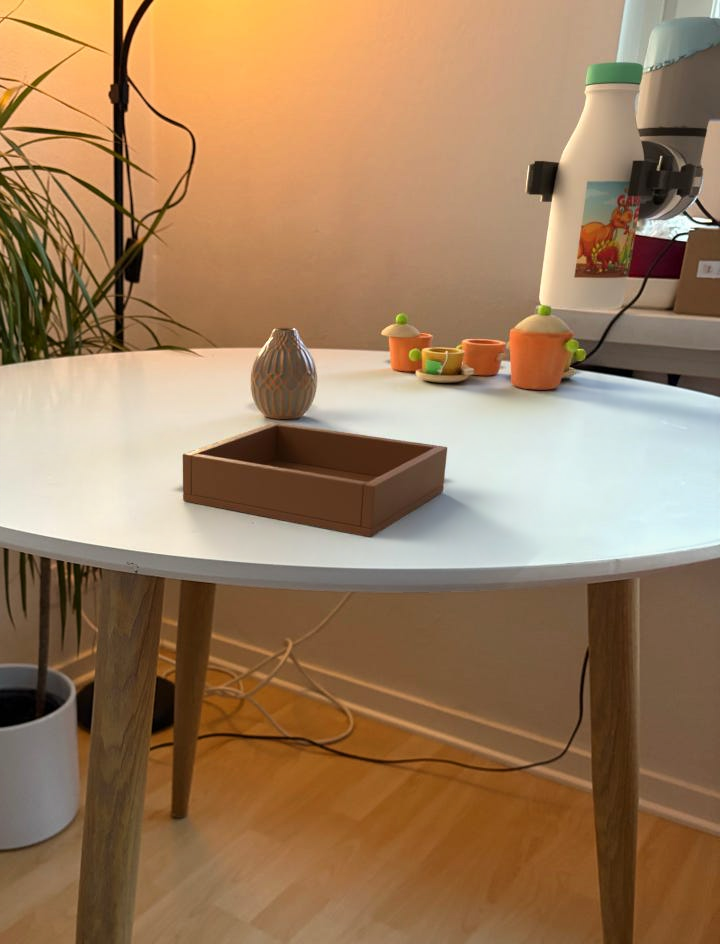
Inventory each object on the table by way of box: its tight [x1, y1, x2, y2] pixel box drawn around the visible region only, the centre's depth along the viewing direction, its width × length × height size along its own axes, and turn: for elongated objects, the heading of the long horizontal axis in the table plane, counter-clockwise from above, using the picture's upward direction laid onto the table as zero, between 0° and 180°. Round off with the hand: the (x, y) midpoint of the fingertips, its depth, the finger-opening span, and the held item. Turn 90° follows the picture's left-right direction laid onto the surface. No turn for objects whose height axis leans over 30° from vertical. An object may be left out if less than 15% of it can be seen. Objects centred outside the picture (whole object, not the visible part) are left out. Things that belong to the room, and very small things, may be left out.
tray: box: [182, 422, 448, 538], centre depth 75 cm, size 16×14×4 cm
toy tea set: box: [381, 304, 587, 391], centre depth 125 cm, size 26×16×10 cm, turn 74°
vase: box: [250, 327, 318, 420], centre depth 102 cm, size 7×7×9 cm
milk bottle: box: [538, 61, 644, 311], centre depth 89 cm, size 8×8×20 cm
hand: (584, 178), depth 85 cm, fingers closed on milk bottle, 8 cm apart
